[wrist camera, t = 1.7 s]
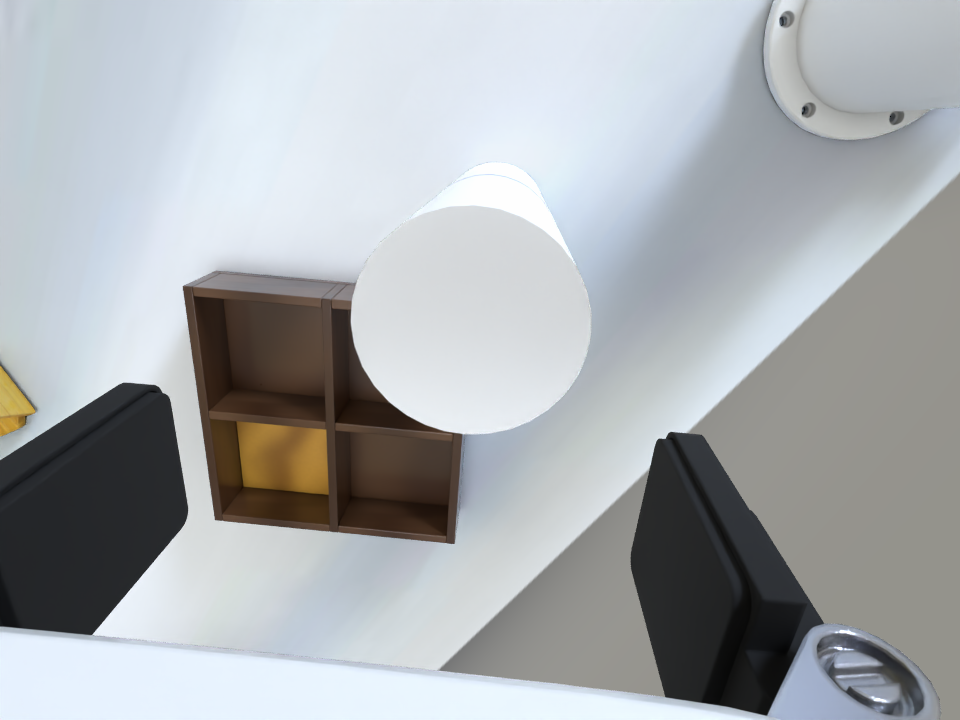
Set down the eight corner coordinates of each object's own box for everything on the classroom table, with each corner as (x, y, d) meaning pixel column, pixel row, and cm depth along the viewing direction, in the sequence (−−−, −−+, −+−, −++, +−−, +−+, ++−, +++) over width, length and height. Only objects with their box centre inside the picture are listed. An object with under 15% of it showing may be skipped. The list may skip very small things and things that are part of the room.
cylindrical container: (562, 189, 38) (638, 271, 15) (518, 279, 41) (525, 466, 18) (469, 144, 38) (401, 159, 14) (430, 239, 40) (320, 380, 17)
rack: (475, 293, 42) (471, 311, 37) (459, 509, 49) (454, 544, 45) (215, 270, 42) (182, 285, 38) (240, 487, 50) (214, 520, 46)
